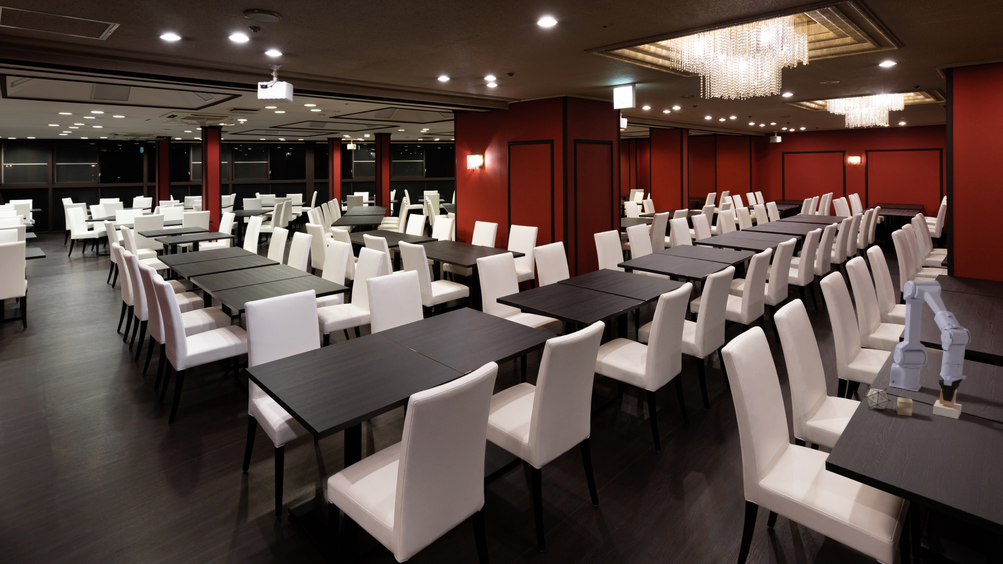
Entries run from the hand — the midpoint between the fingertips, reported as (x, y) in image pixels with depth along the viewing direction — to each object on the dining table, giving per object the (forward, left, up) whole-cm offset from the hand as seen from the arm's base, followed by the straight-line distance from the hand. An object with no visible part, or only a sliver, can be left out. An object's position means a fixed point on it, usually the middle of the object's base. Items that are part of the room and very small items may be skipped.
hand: (948, 398), depth 197 cm
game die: (-19, -11, -6) cm, 23 cm away
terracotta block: (0, 0, -2) cm, 2 cm away
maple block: (-11, -9, -6) cm, 15 cm away
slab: (0, 0, -5) cm, 5 cm away
